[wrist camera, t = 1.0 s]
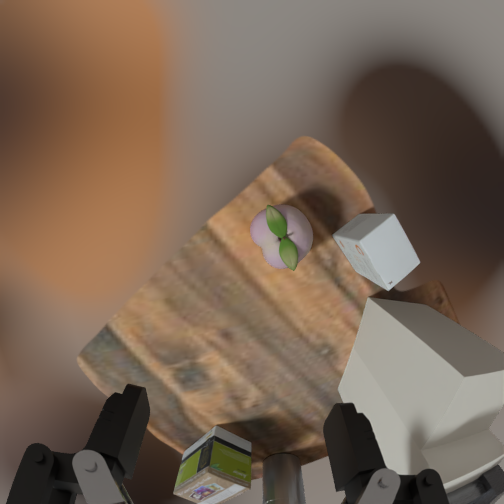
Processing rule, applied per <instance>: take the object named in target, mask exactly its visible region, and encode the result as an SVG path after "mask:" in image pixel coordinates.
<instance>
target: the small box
mask: <svg viewBox="0 0 504 504" xmlns="http://www.w3.org/2000/svg"><path fill="white" fill-rule="evenodd" d="M332 236H333V238H334V239H335V241H336V242H337V244H338V245H339V247H340V248H341V250H342V251H343V253H344V254H345V256H346V257H347V259H348V260H349V262H350V263H351V265H352V267H353V268H354V270H355V271H356V272H357V273H359V274H361V275H363V276H364V277H366V278H368V279H369V280H371V281H373V282H374V283H376V284H377V285H379V286H381V287H382V288H384V289H386V290H387V291H389V290H390V289H391V288H392V287H394V286H395V285H396V284H397V283H398V282H399V281H401V280H402V279H403V278H404V277H405V276H406V275H407V274H409V272H411V271H412V270H413V269H414V268H415V267H416V266H417V265H418V264H419V263H420V260H419V258H418V256H417V255H416V252H415V250H414V248H413V246H412V244H411V242H410V241H409V239H408V237H407V235H406V233H405V231H404V230H403V228H402V226H401V224H400V222H399V221H398V219H397V217H396V215H395V214H392V213H391V214H359V215H357V216H356V217H355V218H353V219H352V220H351V221H350V222H348V223H347V224H346V225H344V226H343V227H342V228H340V229H339V230H338V231H336V232H335V233H334V234H333V235H332Z"/></svg>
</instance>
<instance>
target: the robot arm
mask: <svg viewBox="0 0 504 504" xmlns="http://www.w3.org/2000/svg"><path fill="white" fill-rule="evenodd" d="M149 416H150V406H149V402H148V397H147V392H146V388H145V387H140V386H136V385H132V384H127V385H126V387H125V389H124V391H123V394H120V393H116V392H115V393H114V394H113V395H111V396H110V397H109V398H108V399H107V400H106V402H105V404H104V406H103V409H102V411H101V413H100V415H99V419H98V420H97V422H96V424H95V426H94V428H93V431H92V433H91V435H90V438H89V440H88V442H87V444H86V446H85V448H84V449H83V450H82V451H80V452H78V453H74V454H67V453H60V452H53V451H51V450H50V449H49V448H48V447H47V446H45V445H43V444H39V443H34V444H31V445H30V446H28V448H27V449H26V451H25V453H24V456H23V458H22V460H21V463H20V466H19V468H18V471H17V473H16V476H15V479H14V481H13V484H12V487H11V490H10V493H9V496H8V499H7V503H6V504H75V500H76V496H77V494H83V495H84V497H85V500H86V501H87V504H133V502H132V500H131V499H130V497H129V495H128V493H127V491H126V489H125V488H124V486H123V484H122V483H123V479H124V477H125V478H129V479H132V476H133V472H134V468H135V465H136V461H137V458H138V454H139V450H140V447H141V444H142V441H143V437H144V434H145V431H146V427H147V424H148V421H149ZM323 433H324V438H325V442H326V447H327V451H328V456H329V460H330V465H331V469H332V474H333V478H334V483H335V489H336V492H337V491H343V490H345V494H346V497H345V498H344V500H343V502H342V503H341V504H449V501H448V498H447V495H446V492H445V489H444V486H443V483H442V480H441V477H440V475H439V473H438V472H437V471H436V470H434V469H424V470H422V471H421V472H420V473H418V474H417V475H400V474H397V473H396V472H395V471H394V470H392V469H388V468H387V466H386V465H385V462H384V459H383V456H382V453H381V451H380V448H379V445H378V442H377V439H375V434H374V432H373V429H372V426H371V423H370V421H369V419H368V418H367V417H366V416H365V415H364V414H363V413H357V410H356V408H355V405H354V404H353V403H352V402H349V403H336V404H335V405H334V406H333V408H332V410H331V412H330V414H329V415H328V417H327V419H326V421H325V423H324V427H323ZM263 504H306V502H305V494H304V485H303V479H302V471H301V466H300V460H299V458H298V457H297V456H295V455H292V454H276V455H272V456H270V457H268V458H266V459H265V460H264V462H263Z"/></svg>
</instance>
